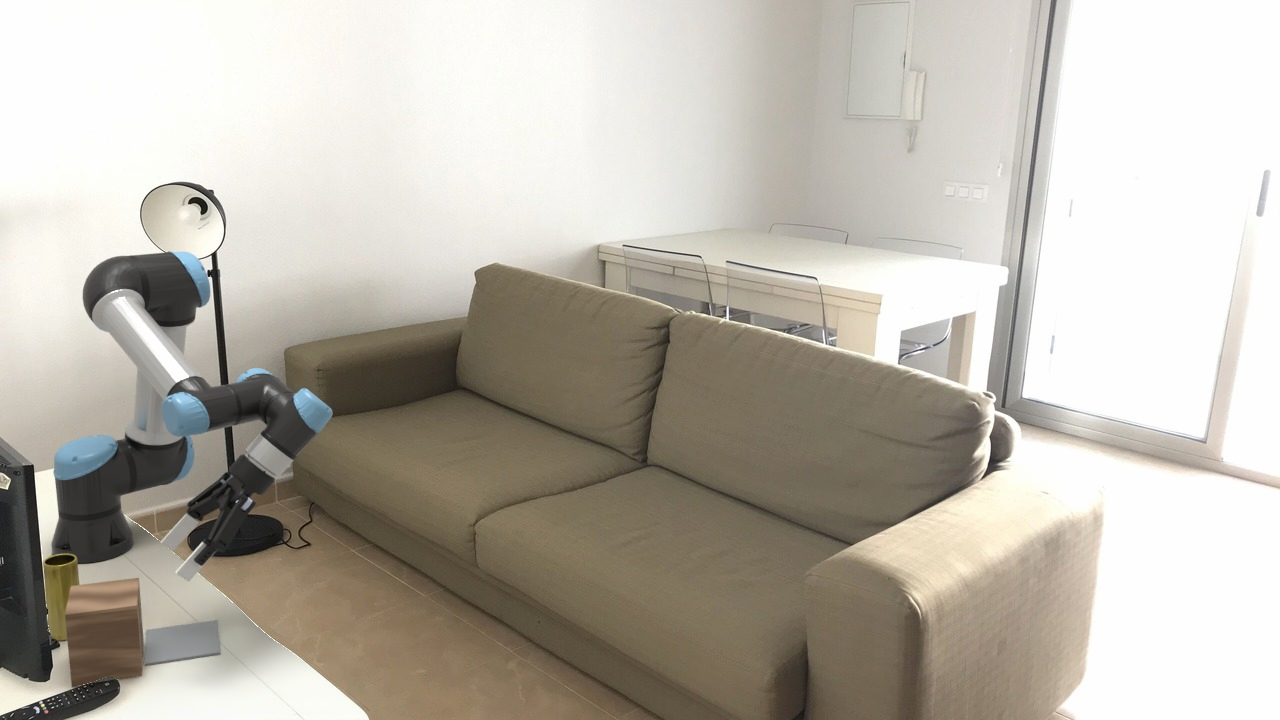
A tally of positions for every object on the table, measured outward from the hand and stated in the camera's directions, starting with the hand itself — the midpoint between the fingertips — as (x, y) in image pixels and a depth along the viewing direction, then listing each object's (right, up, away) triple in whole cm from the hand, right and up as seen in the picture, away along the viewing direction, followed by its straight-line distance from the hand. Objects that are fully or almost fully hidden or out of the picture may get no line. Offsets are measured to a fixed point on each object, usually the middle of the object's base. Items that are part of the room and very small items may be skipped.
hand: (173, 561), depth 176 cm
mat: (-1, -16, +6) cm, 17 cm away
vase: (-23, -14, +7) cm, 28 cm away
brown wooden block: (-10, -17, -2) cm, 20 cm away
